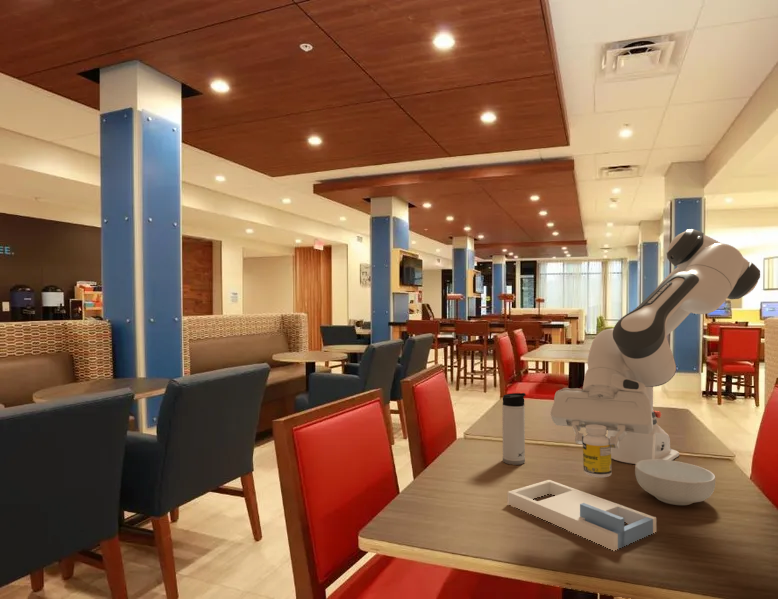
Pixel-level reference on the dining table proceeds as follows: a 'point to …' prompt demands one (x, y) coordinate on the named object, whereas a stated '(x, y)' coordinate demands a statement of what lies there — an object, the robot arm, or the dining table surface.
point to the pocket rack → (584, 514)
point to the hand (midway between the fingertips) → (596, 444)
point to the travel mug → (514, 428)
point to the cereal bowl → (675, 481)
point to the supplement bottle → (596, 451)
